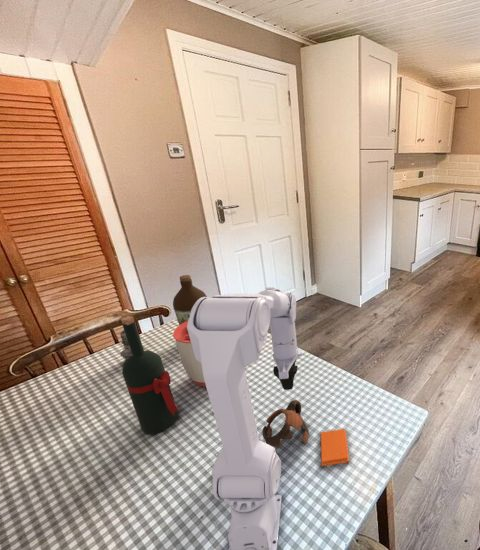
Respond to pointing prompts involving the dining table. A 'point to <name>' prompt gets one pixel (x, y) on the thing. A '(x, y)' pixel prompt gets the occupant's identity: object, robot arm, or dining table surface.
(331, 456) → the orange flat block
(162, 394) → the wine bottle
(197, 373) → the citrus juicer
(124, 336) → the salt shaker
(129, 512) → the dining table surface
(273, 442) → the brown toy figure
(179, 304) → the olive oil
